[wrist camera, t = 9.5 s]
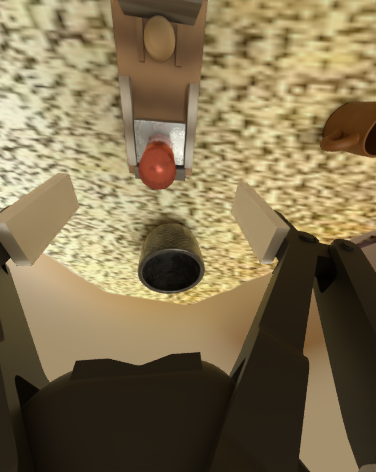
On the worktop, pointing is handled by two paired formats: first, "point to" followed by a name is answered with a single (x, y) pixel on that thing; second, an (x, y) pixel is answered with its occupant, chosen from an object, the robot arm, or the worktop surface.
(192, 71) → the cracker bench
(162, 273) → the planter
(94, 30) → the worktop surface
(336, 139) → the mug
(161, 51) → the walnut
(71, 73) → the worktop surface
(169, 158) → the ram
